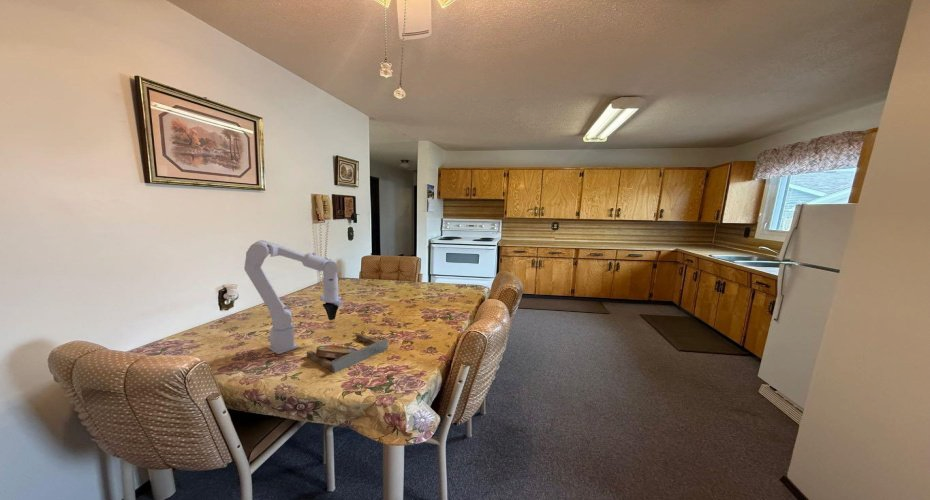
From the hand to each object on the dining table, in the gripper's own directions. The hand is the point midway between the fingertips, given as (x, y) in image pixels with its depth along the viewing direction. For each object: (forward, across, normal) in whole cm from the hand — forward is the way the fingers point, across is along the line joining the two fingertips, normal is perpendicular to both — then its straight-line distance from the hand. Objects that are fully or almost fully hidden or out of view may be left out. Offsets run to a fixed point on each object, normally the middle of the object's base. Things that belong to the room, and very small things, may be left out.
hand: (331, 319), depth 128 cm
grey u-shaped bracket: (+9, -15, +2) cm, 18 cm away
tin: (+8, -14, +4) cm, 17 cm away
